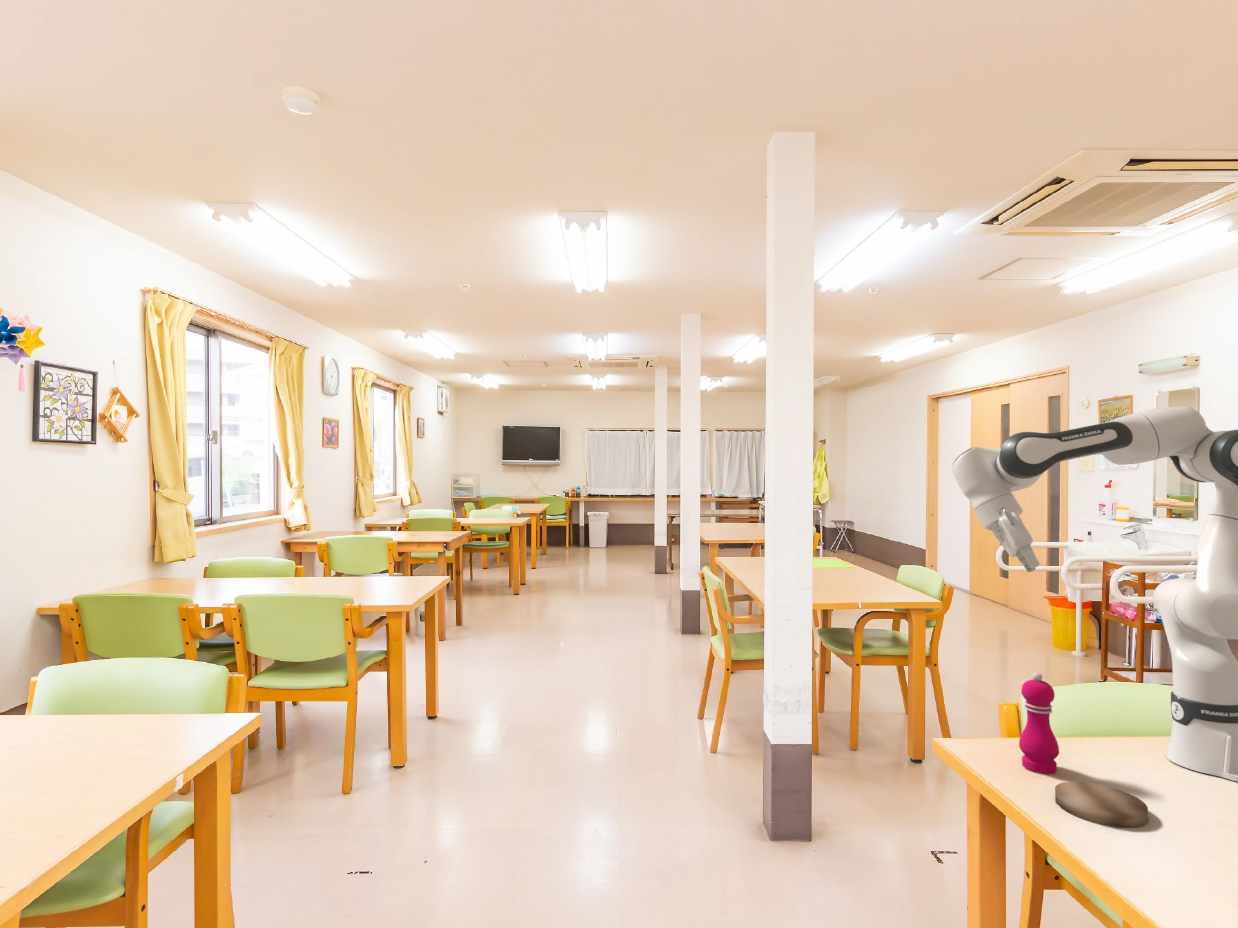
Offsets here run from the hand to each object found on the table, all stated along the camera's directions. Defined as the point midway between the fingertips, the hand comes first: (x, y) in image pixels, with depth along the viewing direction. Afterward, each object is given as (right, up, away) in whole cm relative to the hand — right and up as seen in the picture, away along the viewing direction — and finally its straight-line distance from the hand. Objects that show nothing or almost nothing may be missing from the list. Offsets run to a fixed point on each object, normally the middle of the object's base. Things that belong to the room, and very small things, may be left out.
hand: (1034, 569), depth 150 cm
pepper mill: (-3, -41, -7) cm, 42 cm away
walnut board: (-3, -41, -25) cm, 48 cm away
